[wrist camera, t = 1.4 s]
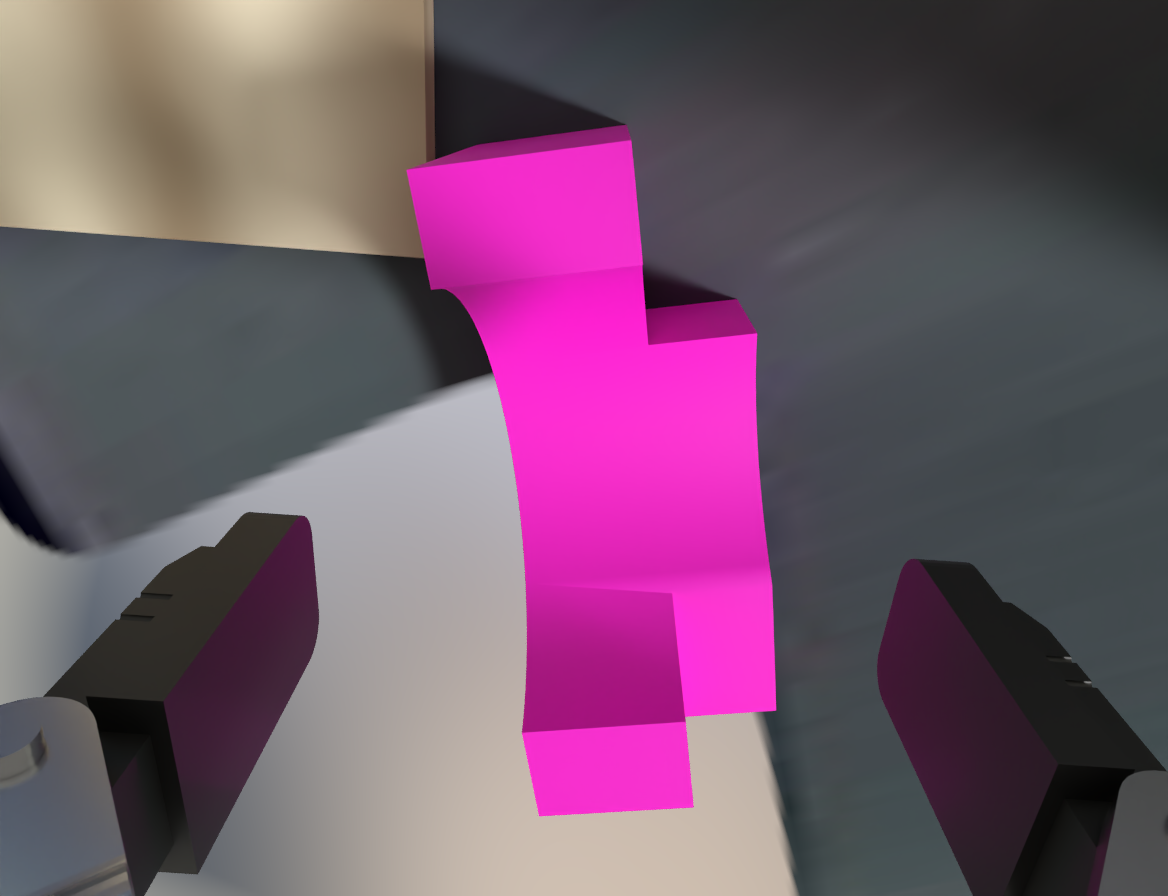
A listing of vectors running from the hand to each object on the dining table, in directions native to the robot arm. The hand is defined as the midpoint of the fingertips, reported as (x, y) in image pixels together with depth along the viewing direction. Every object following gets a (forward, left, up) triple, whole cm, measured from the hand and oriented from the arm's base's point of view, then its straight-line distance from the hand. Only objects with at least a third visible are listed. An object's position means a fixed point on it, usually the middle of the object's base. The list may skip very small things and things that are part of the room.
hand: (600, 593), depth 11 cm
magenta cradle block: (-1, +2, -12) cm, 13 cm away
